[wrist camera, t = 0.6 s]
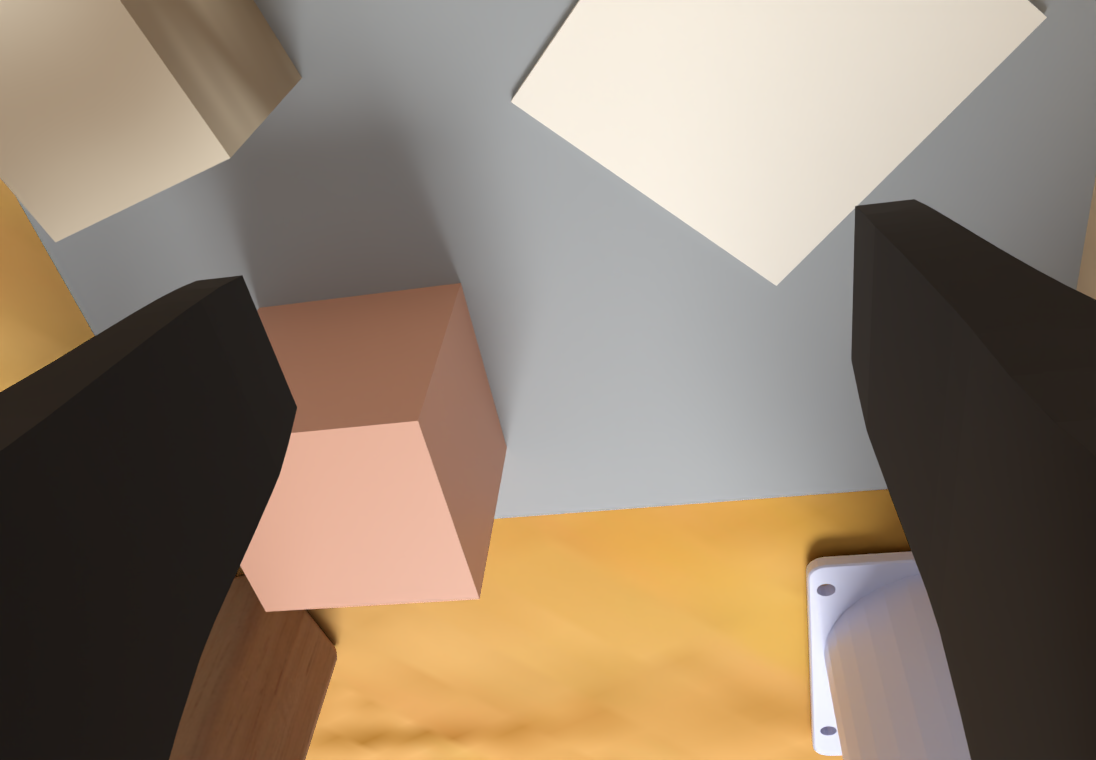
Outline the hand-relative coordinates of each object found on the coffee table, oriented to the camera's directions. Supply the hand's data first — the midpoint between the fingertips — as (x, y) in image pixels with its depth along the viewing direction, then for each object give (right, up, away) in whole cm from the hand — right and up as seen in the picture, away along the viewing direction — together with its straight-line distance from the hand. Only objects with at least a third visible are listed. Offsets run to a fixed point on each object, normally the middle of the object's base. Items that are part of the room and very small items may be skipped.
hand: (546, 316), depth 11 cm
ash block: (-8, +6, +7) cm, 12 cm away
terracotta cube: (-4, -1, +12) cm, 13 cm away
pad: (+4, +5, +7) cm, 9 cm away
